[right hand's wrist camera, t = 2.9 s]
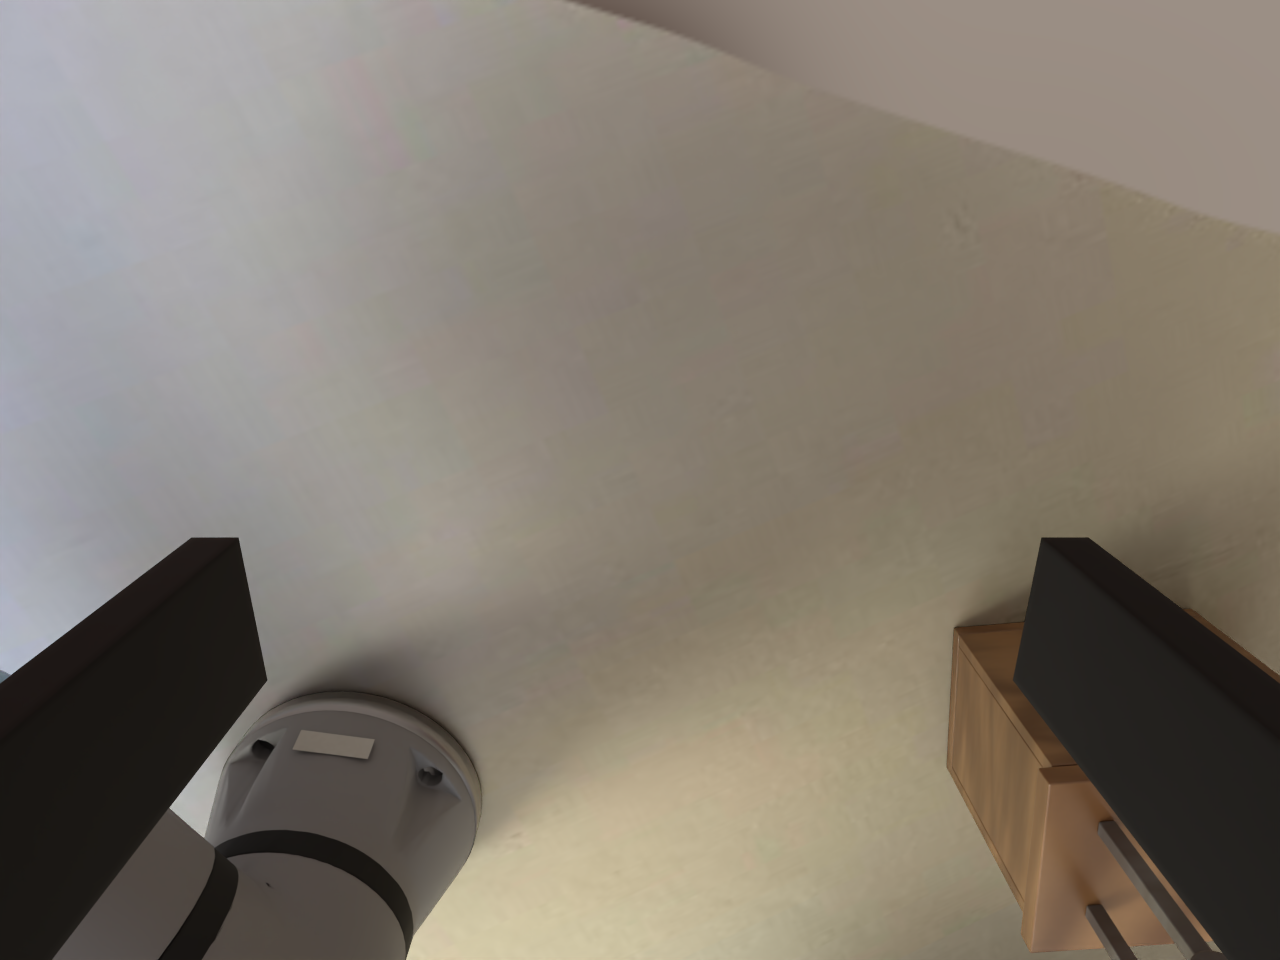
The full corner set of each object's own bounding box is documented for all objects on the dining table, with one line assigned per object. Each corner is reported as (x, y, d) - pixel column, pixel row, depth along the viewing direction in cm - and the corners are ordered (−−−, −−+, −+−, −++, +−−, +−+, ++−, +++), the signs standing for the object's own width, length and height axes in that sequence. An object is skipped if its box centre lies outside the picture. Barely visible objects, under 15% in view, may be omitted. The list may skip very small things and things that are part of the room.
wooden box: (946, 767, 46) (1032, 931, 36) (953, 627, 43) (1051, 765, 32) (1166, 751, 46) (1317, 913, 35) (1191, 608, 42) (1367, 741, 32)
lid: (1019, 933, 36) (1133, 1157, 28) (1037, 767, 32) (1172, 964, 24) (1318, 914, 35) (1526, 1136, 27) (1368, 742, 32) (1624, 936, 24)
